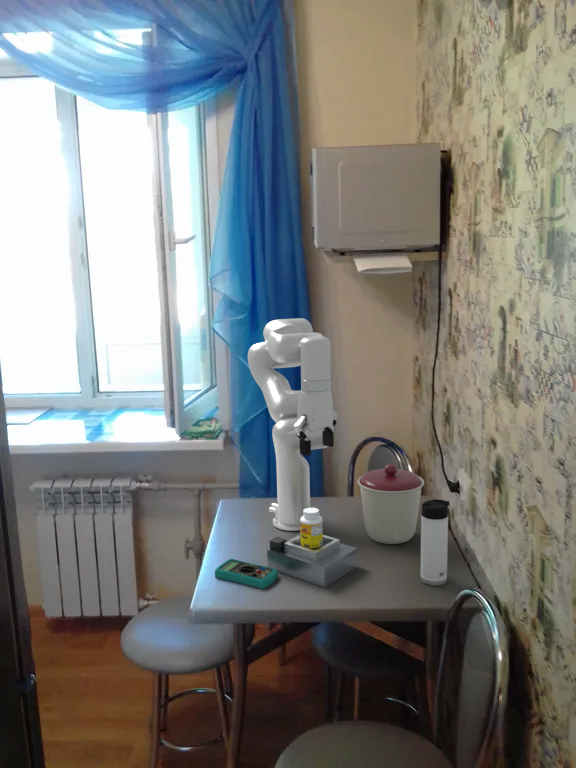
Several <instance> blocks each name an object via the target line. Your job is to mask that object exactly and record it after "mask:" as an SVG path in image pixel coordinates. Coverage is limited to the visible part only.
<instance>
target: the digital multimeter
mask: <svg viewBox="0 0 576 768" xmlns="http://www.w3.org/2000/svg"><path fill="white" fill-rule="evenodd" d="M278 574H279V573H278V571H277V570H276V569H274V568H270V567H268V566H264V565H261V564H260V565H259V564H254V563H250V562H248V561H247V562H246V561H242V560H239V559H234V558H229V559H227V560H226V561H225V562H223V563H221V564H220V565H219V566H217V567H216V568H215V569H214V577H215V578H218V579H222V580H225V581H230V582H235V583H238V584H243V585H245V586H246V585H247V586H251V587H253V588H257V589H262V590H265V588H267V587H269V586H270V585H272V584H273V583H275V581H276V580H277V578H278V577H279V576H278Z"/></svg>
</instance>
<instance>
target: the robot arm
mask: <svg viewBox="0 0 576 768" xmlns="http://www.w3.org/2000/svg"><path fill="white" fill-rule="evenodd" d="M262 333H263V338H264V340H265V341H262V342H257V343H254V344H253V345H252V346H250V348H249V349H248V351H247V363H248V367H249V371H250V374H251V376H252V377H253V379H254V381H255V382H256V384H257V385H258V386H259V388H260V389H261V392H262V394H263V397H264V401H265V404H266V406H267V409H268V413H269V415H270V417H271V419H272V420H273V421H274V423H275V424H274V425H273V426H272V429H271V430H272V431H271V432H272V434H271V435H272V441H273V446H274V452H275V460H276V461H275V462H276V463H275V464H276V465H275V466H276V491H277V492H276V494H277V496H276V497H277V503H276V502H272V503H271V505H270V507H269V509H268V511H269V512H270V513H274V514H275V515H274V517H273V519H272V525H273V526H274V527H275V528H277V529H279V530H283V531H286V532H287V531H289V532H294V531H295V532H297V531H300V519H301V517H302V516H303V510H304V509H306V508H311V493H310V491H311V489H310V487H311V485H310V479H311V478H310V465H309V464H310V463H308V460H307V459H306V458H305V456H308V457H309V456H312V451H313V450H319V449H320V450H321V449H326V448H329V447H330V448H333V447H334V443H335V441H334V439H335V437H334V432H335V430H336V428H335V426H336V425H337V419H338V415H339V413H338V412H337V411H335V410H334V402H333V401H334V400H333V395H332V390H331V389H332V386H331V385H332V383H331V379H332V378H331V377H332V376H331V341H330V339H329V338H328V337H327V336H326V337H325V336H324V335H323V334H322V333H320V332H314V330H313V327H312V324H311V323H310V321H309V320H308V319H306V318H302V317H301V318H299V317H297V318H280V319H274V320H271V321H269V322H268V323H266V325H265V326H264V328H263V332H262ZM296 367H300V387H301V388H300V390H293V389H292V388H291V385H290V384H289V381H288V379H287V378H286V377H285V376H284V375H283V374H281V373H280V372H279V371H277V370H275V369H283V368H284V369H285V368H296Z"/></svg>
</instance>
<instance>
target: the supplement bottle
mask: <svg viewBox="0 0 576 768" xmlns="http://www.w3.org/2000/svg"><path fill="white" fill-rule="evenodd" d="M323 531H324V530H323V517H322V516H320V509H318V508H316V507H310V508H306V509H304V510H303V516H302V517H301V519H300V532H301V547H305V548H308V549H311V550H314V551H316V550H317V549H319V548H321V547H322V546H323V535H324V533H323ZM300 532H299V533H300Z"/></svg>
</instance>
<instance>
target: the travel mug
mask: <svg viewBox="0 0 576 768" xmlns="http://www.w3.org/2000/svg"><path fill="white" fill-rule="evenodd" d="M450 506H451V503H450V501H449V500H444V499H429V500H426V501H424V502H423V503H422V505H421V514H420V515H421V517H420V524H421V525H420V581H422V583H423V584H426V585H428V586H443V585H445V584H446V583H447V581H448V545H449V544H448V543H449V542H448V540H449V539H448V536H449V534H448V533H449V509H448V507H450Z"/></svg>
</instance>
